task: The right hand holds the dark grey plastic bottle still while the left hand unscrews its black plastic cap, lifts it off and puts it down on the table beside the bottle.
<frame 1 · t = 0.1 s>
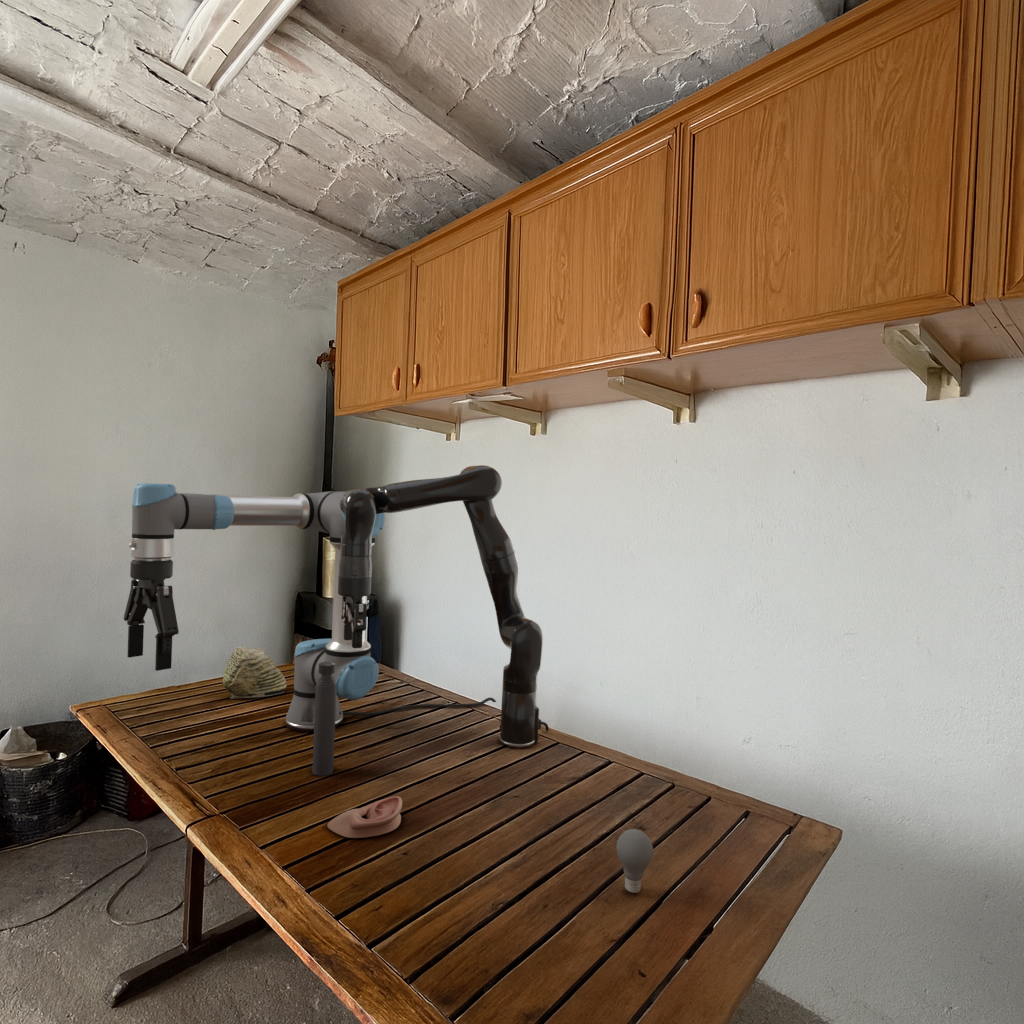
left hand: (148, 662, 129), 28 cm above the table, tool pointing down, fingers open, 13 cm apart
right hand: (352, 643, 148), 29 cm above the table, tool pointing down, fingers open, 8 cm apart
light bulb: (632, 891, 106), on the table
anatomical model: (365, 824, 123), on the table
fossil: (254, 694, 198), on the table
cap: (326, 665, 145), point 25 cm above the table, screwed on, not yet turned
bottle: (322, 771, 146), on the table
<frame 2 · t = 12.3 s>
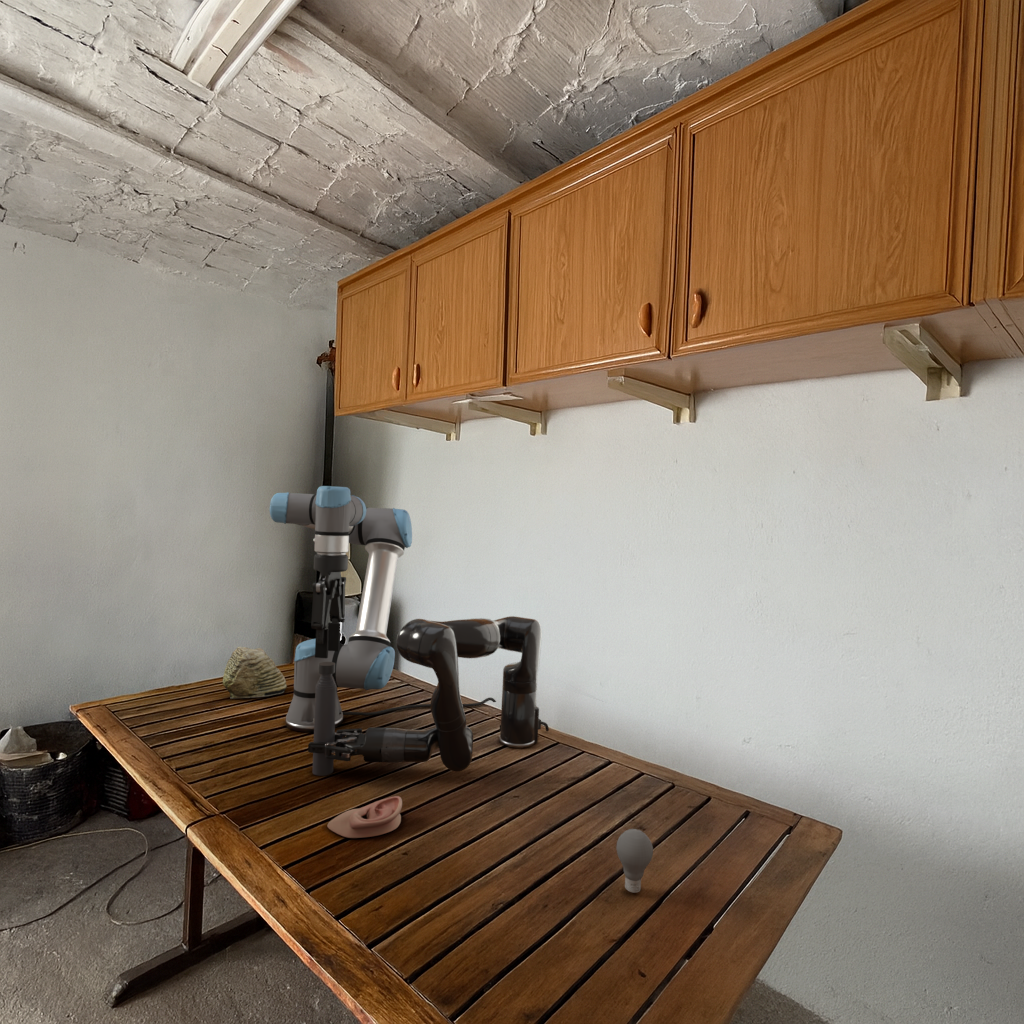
left hand: (327, 653, 145), 27 cm above the table, tool pointing down, fingers open, 6 cm apart
right hand: (312, 742, 146), 7 cm above the table, tool horizontal, fingers closed on bottle, 4 cm apart
bottle: (322, 771, 146), on the table, touching right hand
everything else where it was.
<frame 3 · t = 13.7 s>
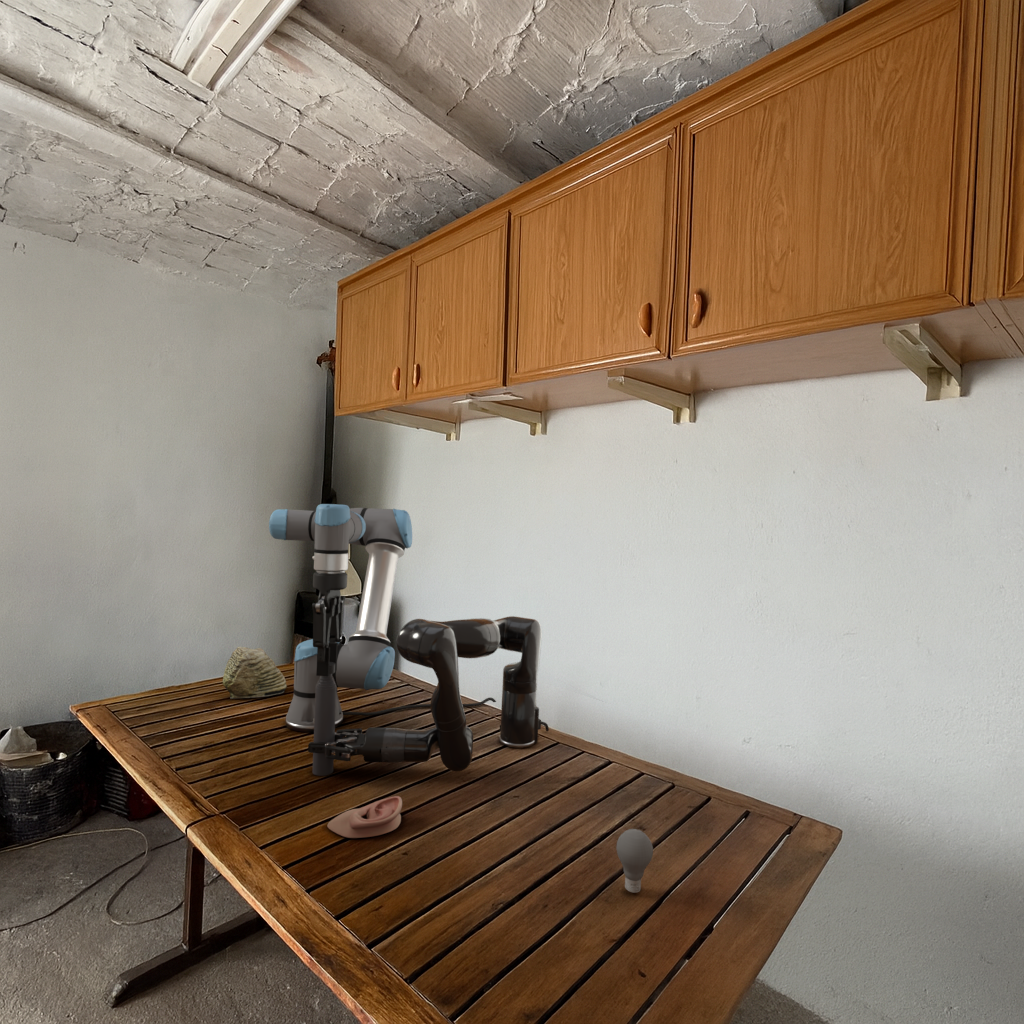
left hand: (326, 672, 145), 23 cm above the table, tool pointing down, fingers closed on cap, 4 cm apart
right hand: (312, 742, 146), 7 cm above the table, tool horizontal, fingers closed on bottle, 4 cm apart
cap: (326, 665, 145), point 25 cm above the table, screwed on, not yet turned, touching left hand
bottle: (322, 771, 146), on the table, touching right hand
everything else where it was.
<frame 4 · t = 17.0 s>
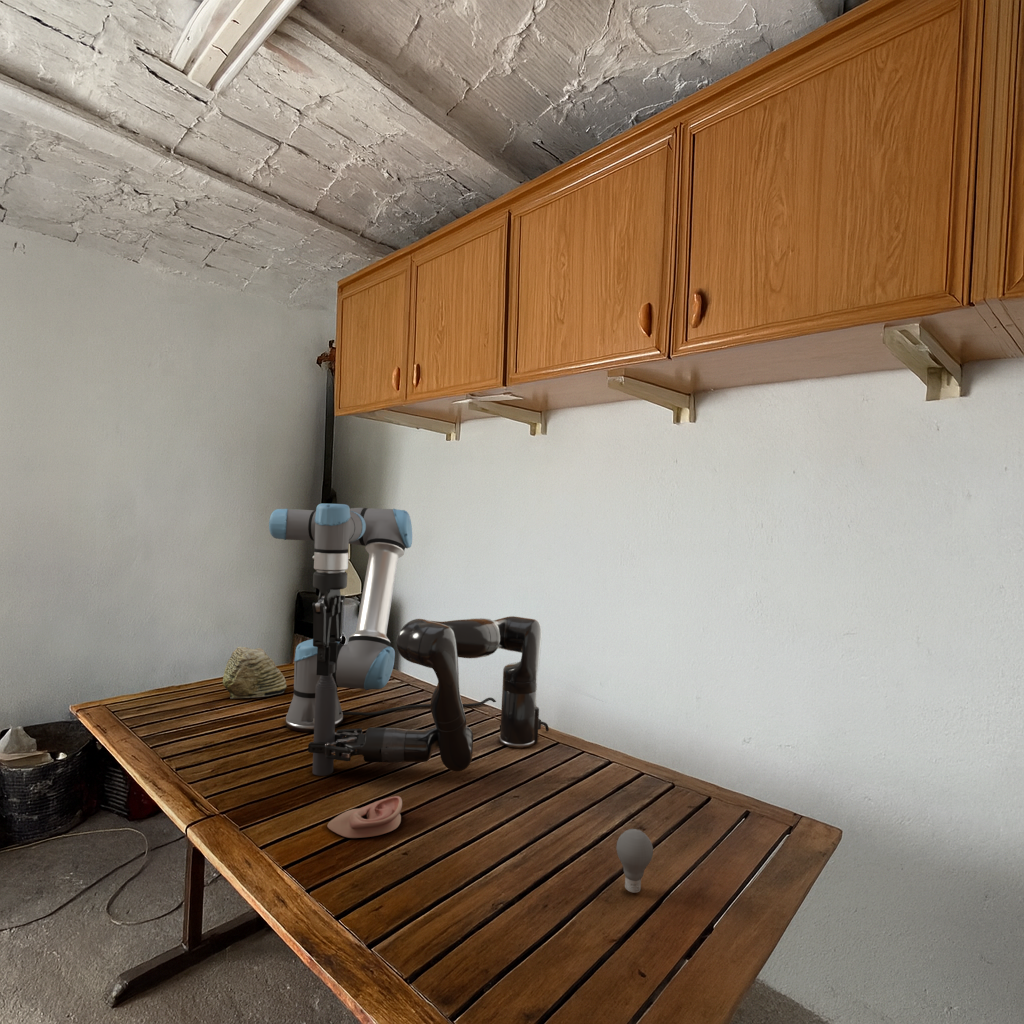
left hand: (326, 672, 145), 23 cm above the table, tool pointing down, fingers closed on cap, 4 cm apart
right hand: (312, 742, 146), 7 cm above the table, tool horizontal, fingers closed on bottle, 4 cm apart
cap: (327, 664, 145), point 25 cm above the table, turned 108° so far, risen 0.1 cm, still on its thread, touching left hand
bottle: (322, 771, 146), on the table, touching right hand
everything else where it was.
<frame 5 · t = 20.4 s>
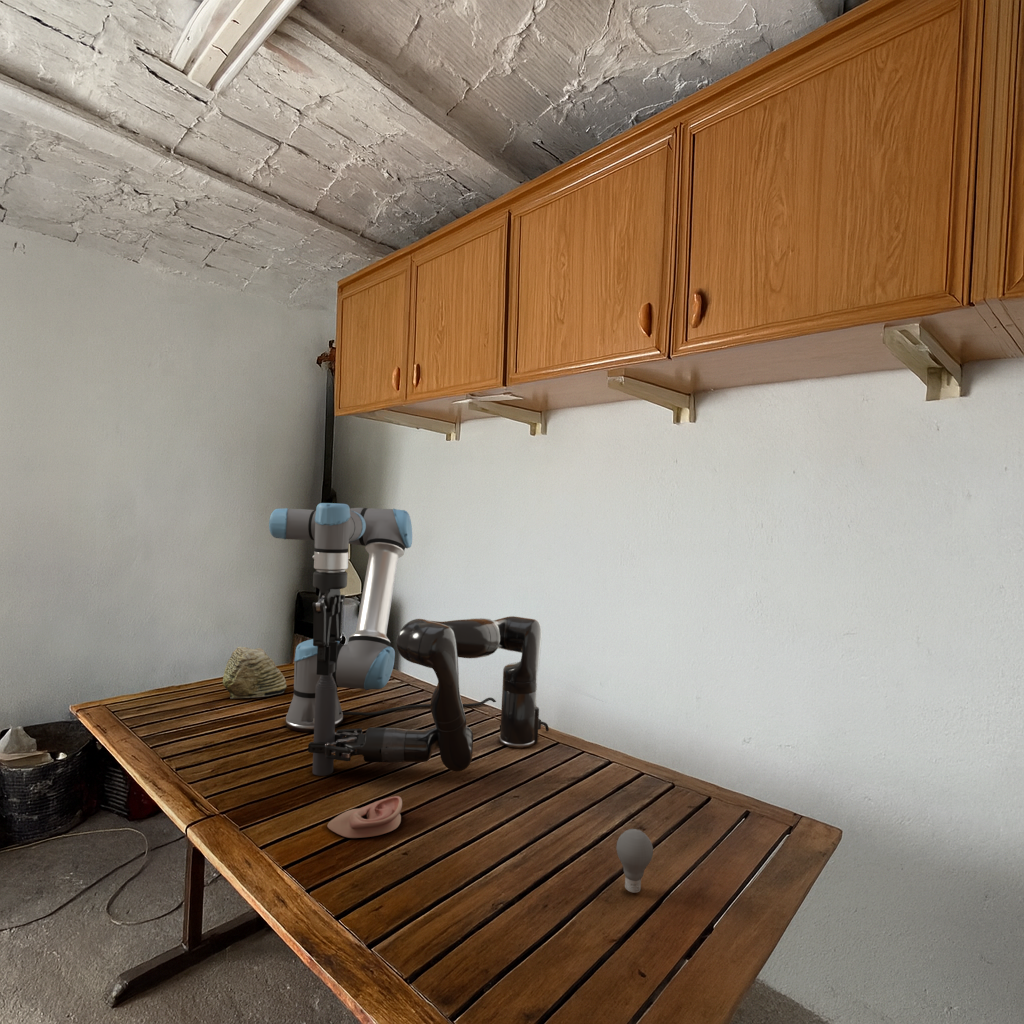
left hand: (326, 671, 145), 23 cm above the table, tool pointing down, fingers closed on cap, 4 cm apart
right hand: (312, 742, 146), 7 cm above the table, tool horizontal, fingers closed on bottle, 4 cm apart
cap: (327, 664, 145), point 25 cm above the table, turned 216° so far, risen 0.2 cm, still on its thread, touching left hand
bottle: (322, 771, 146), on the table, touching right hand
everything else where it was.
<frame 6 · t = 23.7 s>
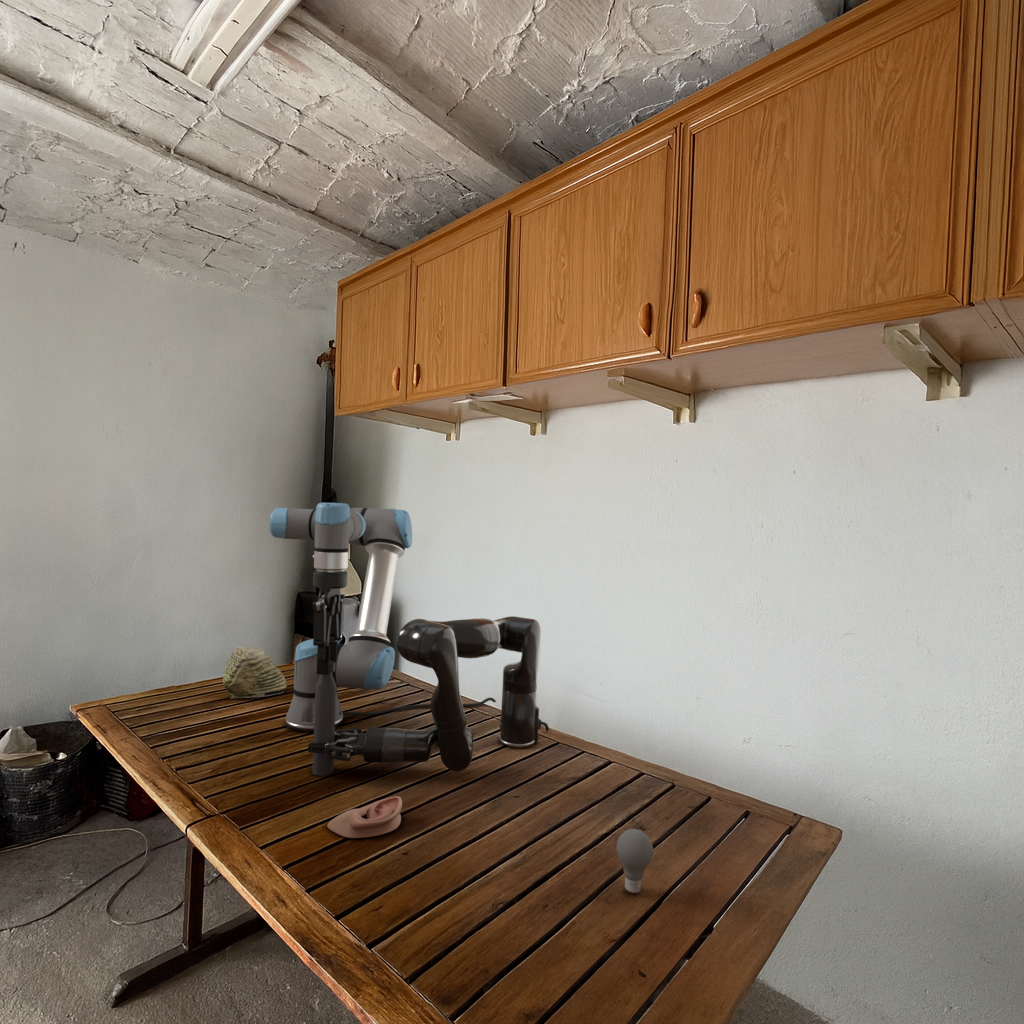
left hand: (326, 671, 145), 23 cm above the table, tool pointing down, fingers closed on cap, 4 cm apart
right hand: (312, 742, 146), 7 cm above the table, tool horizontal, fingers closed on bottle, 4 cm apart
cap: (327, 663, 145), point 25 cm above the table, turned 325° so far, risen 0.3 cm, still on its thread, touching left hand
bottle: (322, 771, 146), on the table, touching right hand
everything else where it was.
when the left hand's fingers open (1 cm above the table, at t = 30.5 s): cap stays where it is, point 2 cm above the table.
when the right hand's fingers open (7 cm above the table, at t = 31.8 s): bottle stays where it is, on the table.
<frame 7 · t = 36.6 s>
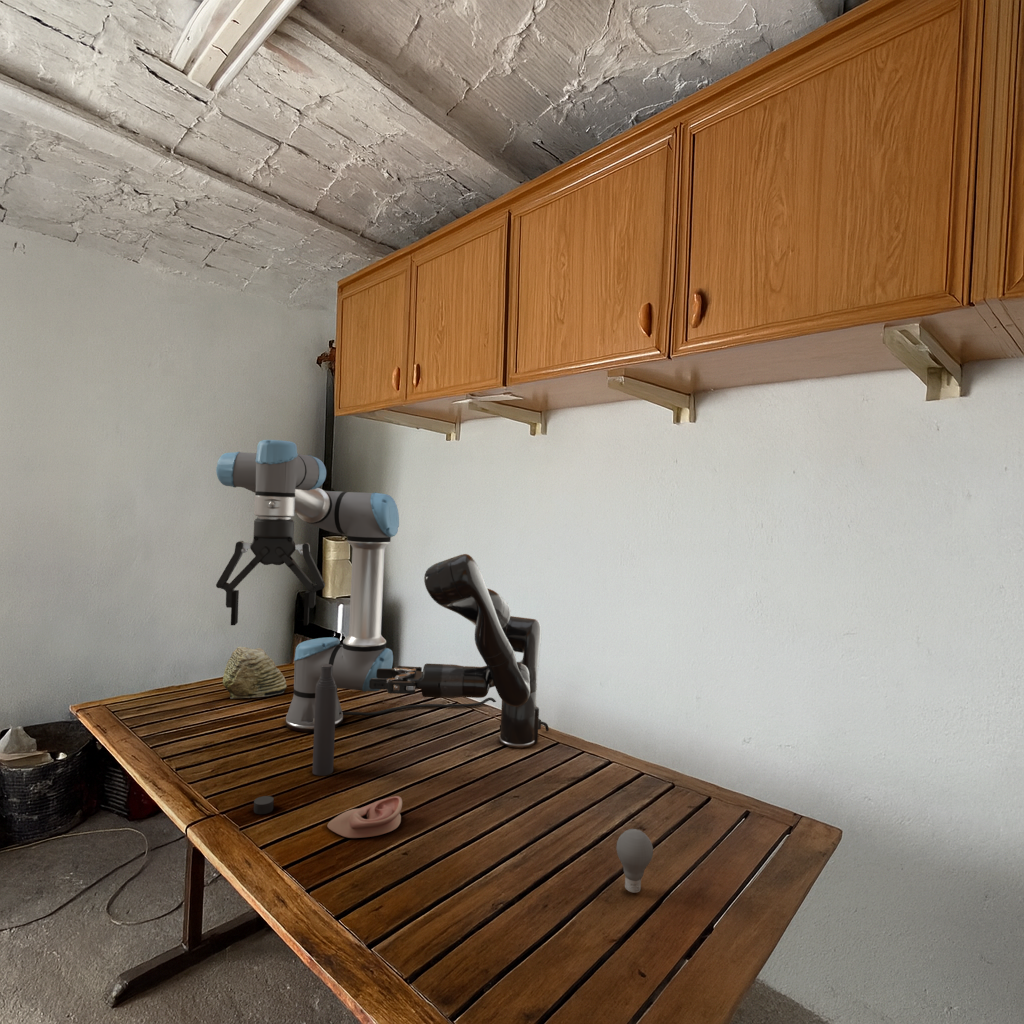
left hand: (270, 624, 127), 37 cm above the table, tool pointing down, fingers open, 13 cm apart
right hand: (373, 678, 146), 22 cm above the table, tool horizontal, fingers open, 8 cm apart
cap: (263, 801, 127), point 2 cm above the table, off its thread
bottle: (322, 771, 146), on the table
everything else where it was.
at the end: cap came off its thread; cap point 1.7 cm above the table; the left hand is holding nothing; the right hand is holding nothing; bottle tilted 0°; bottle moved 0.0 cm from its start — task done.
